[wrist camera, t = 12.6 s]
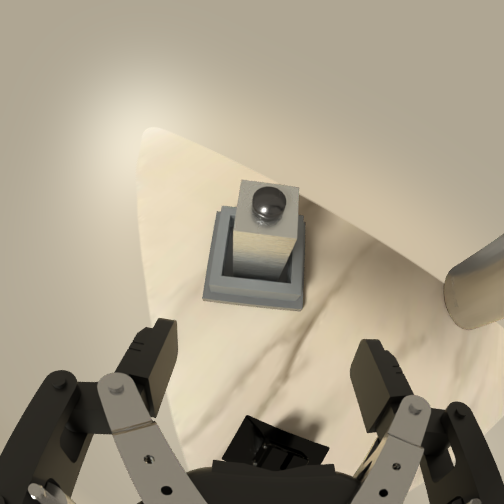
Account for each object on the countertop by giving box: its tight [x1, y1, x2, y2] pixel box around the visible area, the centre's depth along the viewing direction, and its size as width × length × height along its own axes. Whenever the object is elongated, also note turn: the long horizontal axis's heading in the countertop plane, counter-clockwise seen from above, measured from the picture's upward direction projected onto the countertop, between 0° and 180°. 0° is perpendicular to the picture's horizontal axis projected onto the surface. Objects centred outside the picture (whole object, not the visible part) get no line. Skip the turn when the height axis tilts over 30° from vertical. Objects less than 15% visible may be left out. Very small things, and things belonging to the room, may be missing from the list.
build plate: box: [222, 415, 329, 471], centre depth 22 cm, size 12×7×5 cm, turn 63°
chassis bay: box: [202, 206, 305, 311], centre depth 30 cm, size 10×10×4 cm
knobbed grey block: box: [233, 180, 299, 282], centre depth 25 cm, size 4×4×11 cm
